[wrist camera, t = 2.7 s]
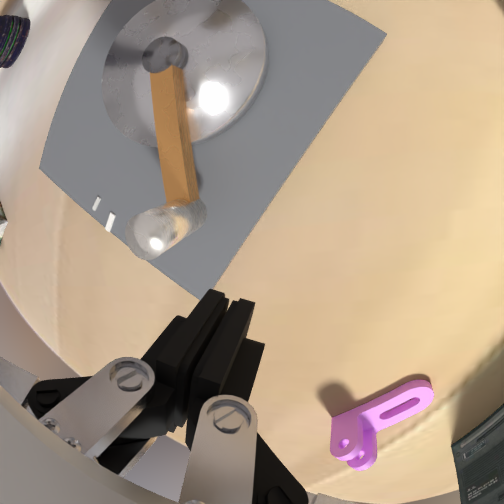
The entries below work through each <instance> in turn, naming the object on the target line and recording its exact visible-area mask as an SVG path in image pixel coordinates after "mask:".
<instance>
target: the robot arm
mask: <svg viewBox="0 0 504 504" xmlns="http://www.w3.org/2000/svg"><path fill="white" fill-rule="evenodd" d="M228 304H229V299H228V298H225V293H222V292H219V291H216V290H213V289H209V290H208V291H207V292H206V294H205V295H204V296H203V298H202V299H201V300H200V302H199V303H198V304H197V306H196V307H195V308H194V309H193V311H192V312H191V313H190V315H189V316H188V317H187V318H184V317H182V316H179V315H178V316H176V317H175V318H174V319H173V320H172V321H171V323H170V324H169V325H168V326H167V328H166V329H165V330H164V331H163V332H162V334H161V335H160V336H159V337H158V339H157V340H156V341H155V342H154V343H153V345H152V346H151V347H150V348H149V350H148V351H147V352H146V353H145V355H144V356H143V357H142V358H141V359H137V358H132V357H122V358H118V359H115V360H113V361H112V362H110V363H109V364H107V365H106V366H105V367H104V368H102V369H101V370H100V371H99V372H97V373H96V374H95V375H94V376H88V377H78V378H66V379H52V380H44V381H40V380H39V377H38V376H36V375H34V374H32V373H30V372H28V371H26V370H24V369H22V368H20V367H18V366H16V365H14V364H12V363H11V362H9V361H7V360H5V359H3V358H2V357H0V504H358V503H353V502H349V501H345V500H341V499H338V498H334V497H331V496H327V495H324V494H321V493H318V494H317V495H316V494H313V493H310V492H307V491H305V489H304V488H303V486H302V485H301V484H300V483H299V482H298V481H297V480H296V479H295V478H294V476H293V475H292V474H291V473H290V472H289V471H288V469H287V468H286V467H285V466H284V465H283V464H282V462H281V461H280V460H279V459H278V458H277V456H276V455H275V454H274V453H273V452H272V450H271V449H270V448H269V447H268V445H267V444H266V443H265V442H264V440H263V439H262V438H261V436H260V435H259V434H258V433H257V424H258V420H257V414H256V412H255V410H254V408H253V407H252V406H251V405H250V404H249V403H248V400H249V397H250V394H251V391H252V387H253V384H254V381H255V377H256V374H257V371H258V367H259V364H260V360H261V357H262V353H263V350H264V346H265V344H264V343H260V342H257V341H254V340H250V339H247V338H246V336H247V332H248V329H249V325H250V321H251V318H252V314H253V310H254V306H255V302H251V301H248V300H245V299H241V298H240V299H239V301H238V302H237V301H234V300H233V301H232V303H231V305H230V307H229V309H228ZM227 309H228V310H227ZM186 420H187V428H186V440H185V443H186V444H187V446H188V448H189V449H190V457H189V461H188V465H187V469H186V473H185V478H184V482H183V486H182V490H181V495H180V499H179V503H177V502H175V501H172V500H170V499H167V498H165V497H162V496H160V495H158V494H156V493H153V492H151V491H149V490H146V489H144V488H142V487H140V486H138V485H136V484H134V483H132V482H130V481H128V480H126V479H124V477H125V476H126V475H127V474H128V472H129V471H130V470H131V469H132V468H133V467H134V466H135V464H136V463H137V462H138V461H139V460H140V459H141V457H142V456H143V455H144V454H145V453H146V451H147V450H148V449H149V448H150V447H151V445H152V444H153V443H154V442H155V440H156V439H157V436H161V435H166V434H167V432H168V431H170V432H172V433H174V431H175V429H176V427H177V426H179V427H183V426H184V424H185V422H186Z"/></svg>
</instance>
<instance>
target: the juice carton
mask: <svg viewBox="0 0 504 504" xmlns="http://www.w3.org/2000/svg"><path fill="white" fill-rule="evenodd" d="M7 223H8V221H7V219H6V217H5V214H4V212H3V208H2V205H1V203H0V244H1V239H2V237H3V234H4V230H5V228H6V226H7Z"/></svg>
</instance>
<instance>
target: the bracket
mask: <svg viewBox="0 0 504 504" xmlns="http://www.w3.org/2000/svg"><path fill="white" fill-rule="evenodd" d="M433 397H434V392H433V389H432V386H431V384H430V383H429V382H428V381H426V380H413V381H410V382H407V383H405V384H403V385H401V386H399V387H397V388H396V389H394V390H392V391H390V392H388V393H386V394H384V395H382V396H380V397H378V398H376V399H374V400H372V401H370V402H367V403H365V404H363V405H361V406H359V407H356V408H354V409H352V410H349V411H347V412H345V413H342V414H340V415H337V416H335V417H332V425H331V441H330V452H331V454H332V455H333V456H335V457H336V458H338V459H339V460H341V461H347V464H348V465H349V466H350V467H352V468H354V469H355V470H358V471H362V470H365V469H368V468H369V467H371V466H372V465H373V464H374V462H375V461H376V458H377V440H376V433H377V432H378V431H379V430H382V429H384V428H386V427H389V426H391V425H393V424H395V423H398V422H400V421H402V420H404V419H406V418H408V417H410V416H412V415H414V414H416V413H418V412H420V411H422V410H423V409H425V408H426V407H427V406H428V405H429V404H430V403H431V402H432V400H433ZM411 398H413V399H411ZM409 399H411V400H409ZM407 400H409V401H408V402H406V401H407ZM404 402H406V403H404ZM402 403H404V404H402ZM400 404H402V405H400ZM398 405H400V406H398ZM396 406H398V407H396ZM394 407H396V408H394ZM392 408H394V409H392ZM390 409H392V410H390ZM387 410H390V411H387ZM385 411H387V412H385ZM346 445H347V447H345V446H346ZM362 455H364V456H363V458H362V459H360V457H361V456H362ZM359 459H360V460H359Z"/></svg>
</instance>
